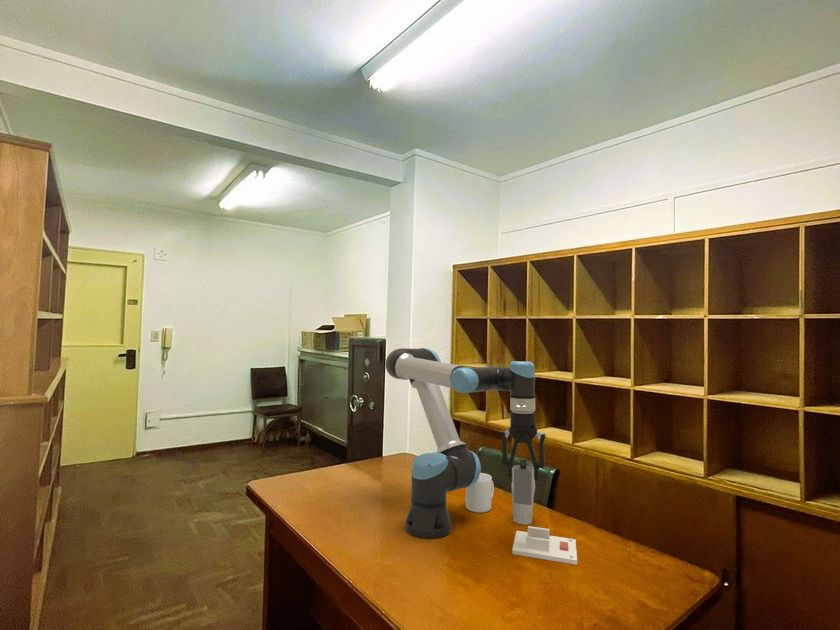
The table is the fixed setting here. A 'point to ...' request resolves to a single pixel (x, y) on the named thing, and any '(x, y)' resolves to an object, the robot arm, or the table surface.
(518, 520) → the cup
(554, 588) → the table surface
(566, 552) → the socket
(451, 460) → the robot arm
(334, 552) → the table surface
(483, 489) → the mug
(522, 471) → the plug
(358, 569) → the table surface
